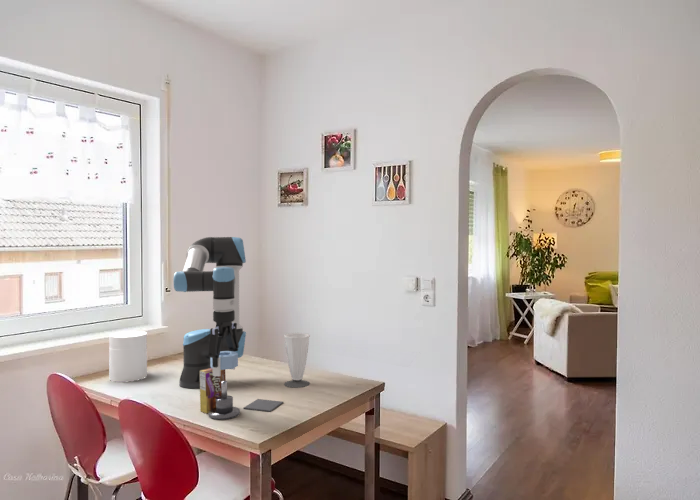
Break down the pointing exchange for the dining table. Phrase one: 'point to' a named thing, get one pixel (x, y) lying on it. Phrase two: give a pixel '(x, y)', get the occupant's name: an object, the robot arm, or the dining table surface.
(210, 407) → the candy box
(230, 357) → the ring
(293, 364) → the cup
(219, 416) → the stand
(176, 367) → the dining table surface
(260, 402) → the mat
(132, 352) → the canister
